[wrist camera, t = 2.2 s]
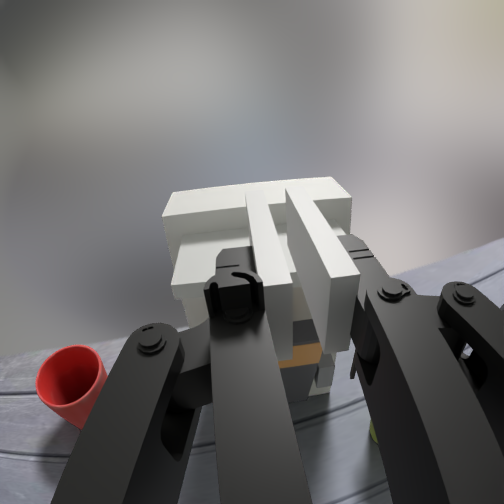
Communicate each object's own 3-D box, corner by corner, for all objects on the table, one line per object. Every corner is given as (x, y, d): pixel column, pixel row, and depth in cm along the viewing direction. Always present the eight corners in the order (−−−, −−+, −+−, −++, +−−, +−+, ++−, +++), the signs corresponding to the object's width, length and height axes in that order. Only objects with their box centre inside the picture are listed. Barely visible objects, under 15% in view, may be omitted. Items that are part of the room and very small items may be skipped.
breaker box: (320, 361, 45) (331, 176, 31) (341, 435, 34) (388, 236, 19) (214, 373, 45) (172, 192, 30) (214, 451, 33) (141, 262, 19)
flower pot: (58, 436, 33) (23, 398, 28) (79, 382, 43) (53, 341, 38) (118, 449, 33) (85, 413, 28) (135, 388, 42) (111, 345, 37)
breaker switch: (306, 384, 36) (323, 316, 25) (309, 399, 35) (329, 338, 24) (237, 393, 36) (217, 329, 25) (238, 408, 35) (219, 352, 23)
